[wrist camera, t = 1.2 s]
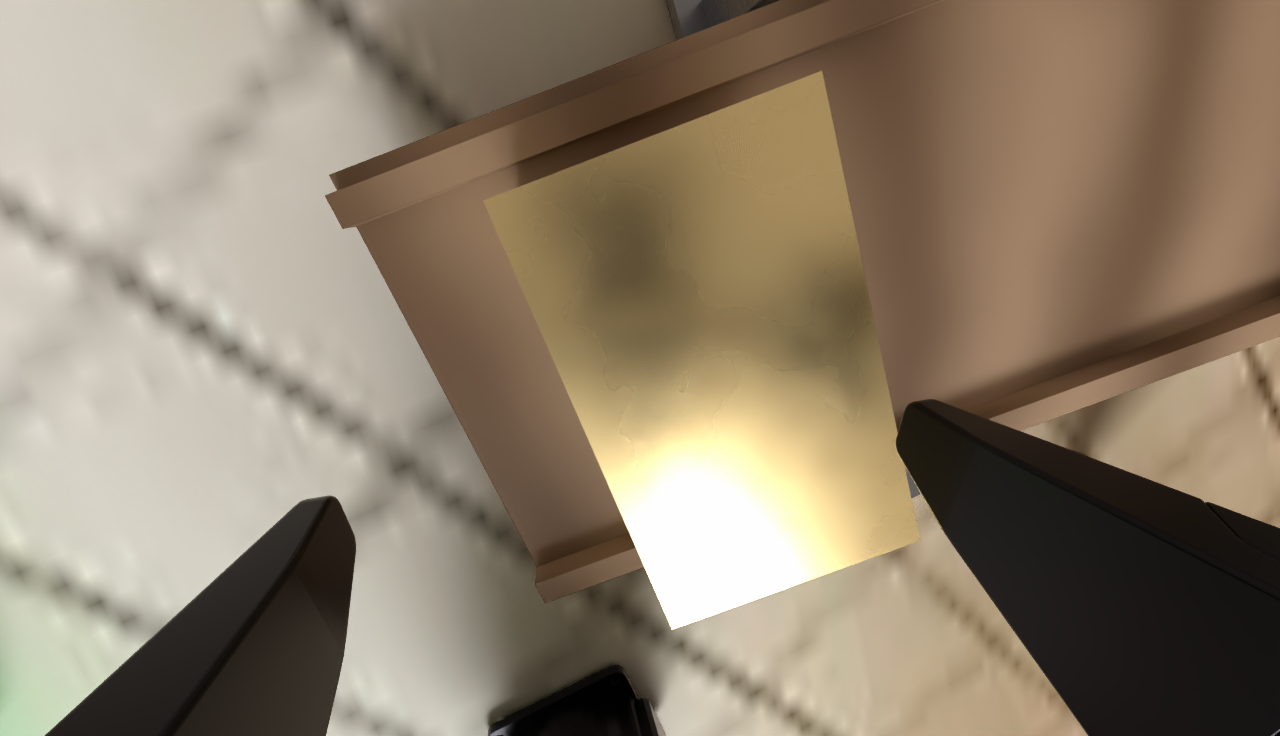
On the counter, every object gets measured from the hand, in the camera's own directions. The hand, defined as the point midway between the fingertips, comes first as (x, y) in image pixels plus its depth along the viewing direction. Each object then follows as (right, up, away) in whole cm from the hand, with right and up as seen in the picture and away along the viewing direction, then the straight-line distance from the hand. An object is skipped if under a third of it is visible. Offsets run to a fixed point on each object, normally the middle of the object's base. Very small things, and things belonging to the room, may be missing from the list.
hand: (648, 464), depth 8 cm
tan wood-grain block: (+1, +3, +7) cm, 7 cm away
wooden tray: (+7, +5, +8) cm, 12 cm away
